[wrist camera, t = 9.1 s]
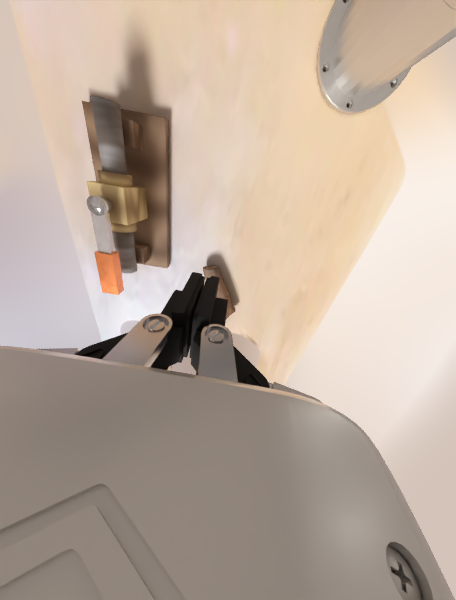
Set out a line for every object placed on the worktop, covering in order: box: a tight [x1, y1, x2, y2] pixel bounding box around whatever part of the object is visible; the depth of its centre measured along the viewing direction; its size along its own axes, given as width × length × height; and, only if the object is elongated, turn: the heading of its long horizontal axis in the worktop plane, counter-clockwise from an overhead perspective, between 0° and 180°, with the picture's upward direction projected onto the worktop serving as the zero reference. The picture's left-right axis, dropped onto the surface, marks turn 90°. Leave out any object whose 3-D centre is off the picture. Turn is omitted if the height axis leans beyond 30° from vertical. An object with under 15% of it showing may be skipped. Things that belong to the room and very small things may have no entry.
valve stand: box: [82, 96, 169, 273], centre depth 30 cm, size 24×12×10 cm, turn 171°
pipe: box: [203, 266, 235, 319], centre depth 43 cm, size 6×17×10 cm
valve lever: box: [87, 195, 124, 295], centre depth 28 cm, size 3×15×2 cm, turn 170°
